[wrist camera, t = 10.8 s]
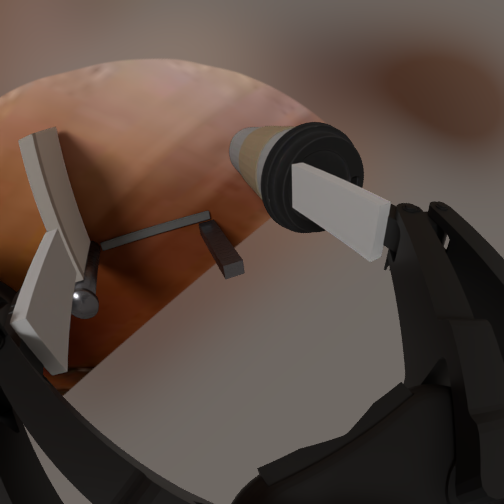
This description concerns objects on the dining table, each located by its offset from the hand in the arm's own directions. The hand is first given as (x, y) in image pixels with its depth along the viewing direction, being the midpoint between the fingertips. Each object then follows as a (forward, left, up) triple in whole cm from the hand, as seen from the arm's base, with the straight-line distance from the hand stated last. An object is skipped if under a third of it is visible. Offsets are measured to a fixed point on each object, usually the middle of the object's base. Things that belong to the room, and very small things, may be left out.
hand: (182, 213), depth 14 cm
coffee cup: (+11, -2, -18) cm, 21 cm away
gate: (-11, 0, -17) cm, 20 cm away
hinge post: (-11, -9, -18) cm, 23 cm away
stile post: (+4, -10, -18) cm, 21 cm away
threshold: (-2, -9, -18) cm, 20 cm away
